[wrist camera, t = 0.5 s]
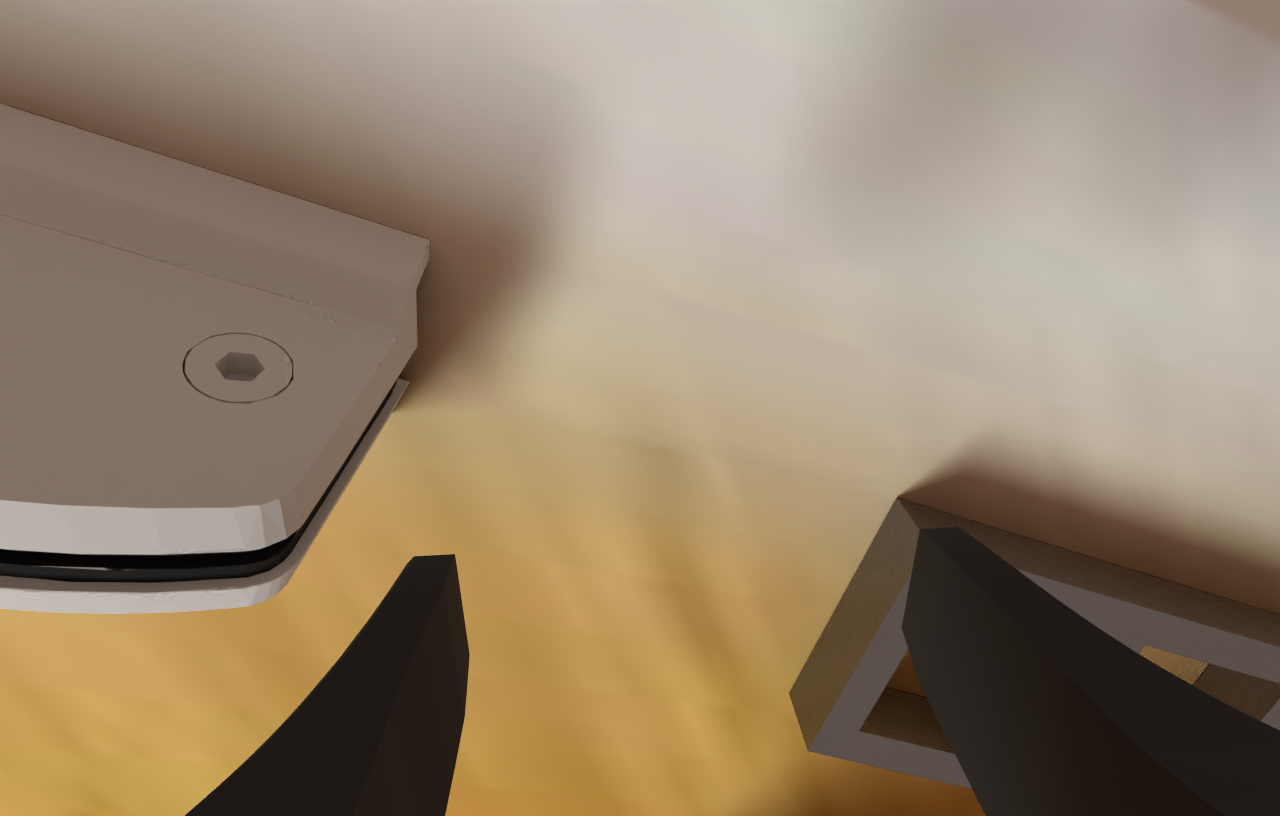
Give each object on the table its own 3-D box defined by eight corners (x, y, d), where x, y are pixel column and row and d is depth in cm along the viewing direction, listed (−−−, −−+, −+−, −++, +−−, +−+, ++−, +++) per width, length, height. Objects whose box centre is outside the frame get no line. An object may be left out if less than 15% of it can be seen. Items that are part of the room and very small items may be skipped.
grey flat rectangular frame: (1294, 817, 33) (1348, 876, 30) (789, 693, 28) (807, 750, 26) (1435, 662, 30) (1506, 714, 28) (896, 497, 25) (928, 543, 23)
